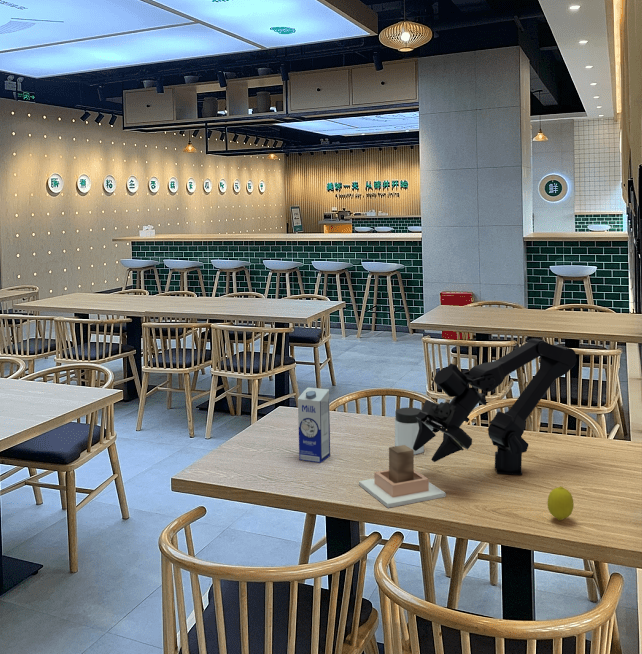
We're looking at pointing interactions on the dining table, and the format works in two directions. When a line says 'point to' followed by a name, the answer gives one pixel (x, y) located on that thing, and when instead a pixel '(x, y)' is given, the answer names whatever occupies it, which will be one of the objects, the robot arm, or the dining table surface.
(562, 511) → the lemon
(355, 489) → the dining table surface
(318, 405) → the milk carton
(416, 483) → the terracotta holder
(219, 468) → the dining table surface
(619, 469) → the dining table surface
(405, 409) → the jar
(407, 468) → the walnut post
